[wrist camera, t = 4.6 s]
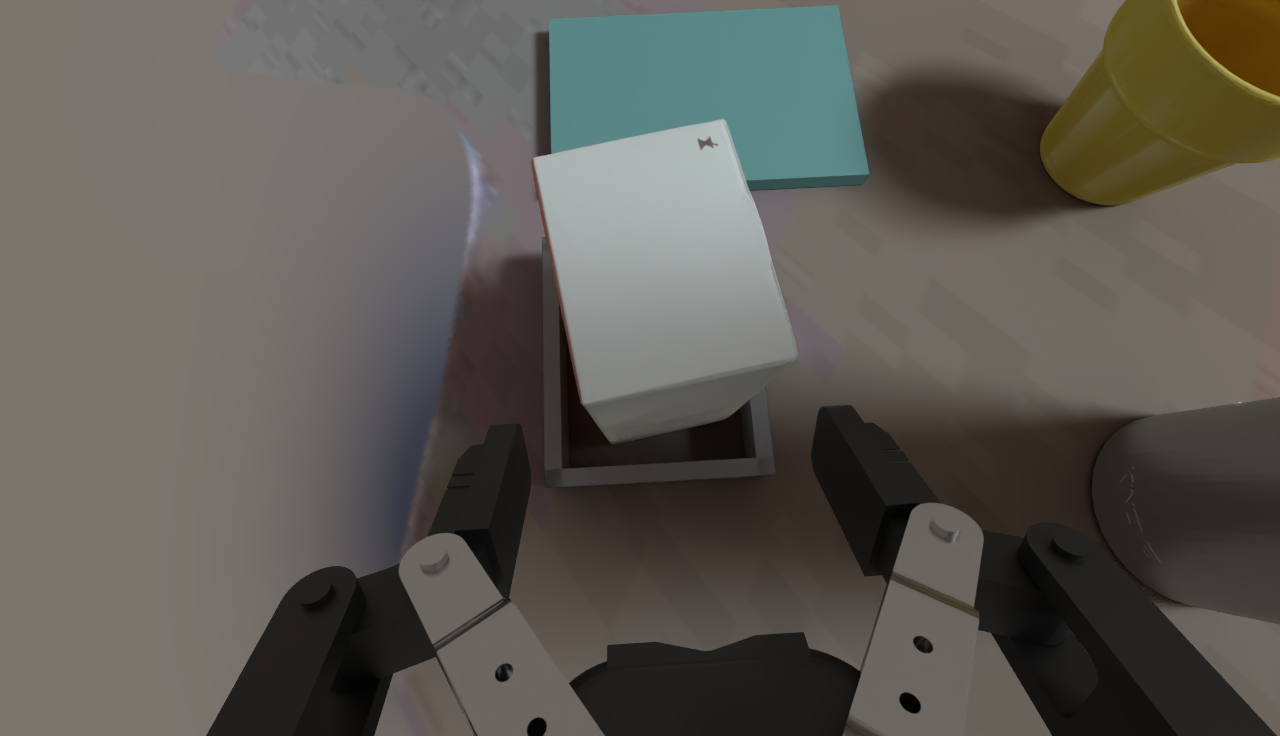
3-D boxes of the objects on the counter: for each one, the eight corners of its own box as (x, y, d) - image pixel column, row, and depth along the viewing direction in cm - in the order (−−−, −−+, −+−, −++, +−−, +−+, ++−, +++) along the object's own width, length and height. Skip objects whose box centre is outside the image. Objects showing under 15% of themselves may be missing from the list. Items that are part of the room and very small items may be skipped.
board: (831, 20, 32) (837, 5, 32) (862, 184, 30) (869, 174, 29) (551, 33, 32) (549, 19, 31) (554, 200, 29) (551, 190, 28)
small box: (578, 305, 28) (526, 150, 15) (690, 281, 28) (729, 110, 16) (609, 450, 26) (579, 409, 13) (728, 422, 26) (809, 357, 14)
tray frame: (737, 249, 29) (746, 226, 26) (762, 476, 26) (775, 474, 23) (550, 259, 29) (542, 237, 26) (553, 488, 26) (544, 487, 23)
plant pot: (981, 191, 30) (1142, 47, 20) (1033, 61, 32) (1201, -124, 22) (1159, 266, 28) (1420, 152, 19) (1201, 126, 31) (1453, -40, 21)
